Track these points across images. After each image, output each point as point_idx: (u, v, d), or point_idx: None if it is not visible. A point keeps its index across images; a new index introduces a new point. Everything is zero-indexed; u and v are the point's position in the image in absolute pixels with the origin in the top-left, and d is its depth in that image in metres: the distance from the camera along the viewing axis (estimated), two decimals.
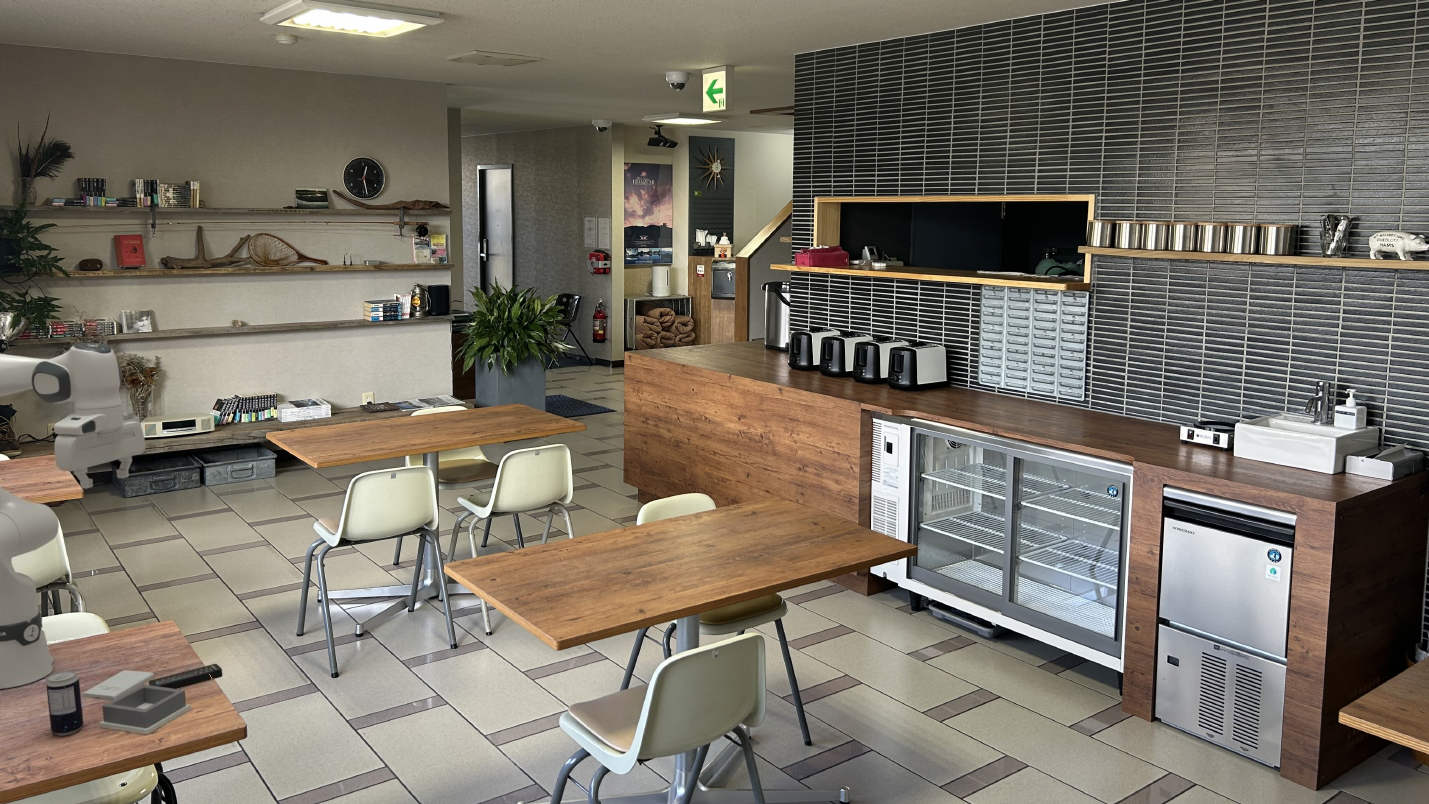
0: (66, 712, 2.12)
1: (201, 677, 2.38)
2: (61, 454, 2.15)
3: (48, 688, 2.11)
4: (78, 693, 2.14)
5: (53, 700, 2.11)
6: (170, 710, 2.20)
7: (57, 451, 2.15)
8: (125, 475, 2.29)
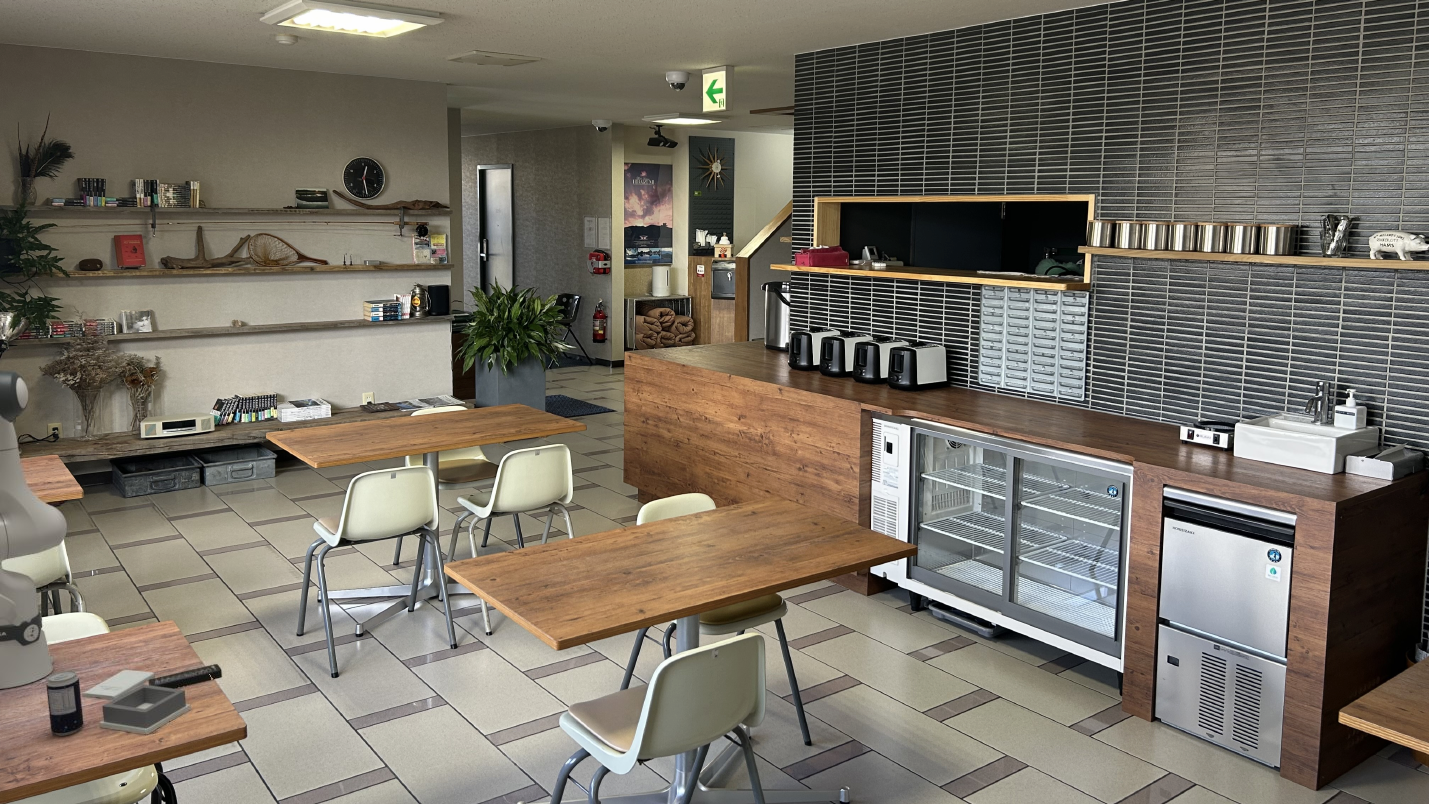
0: (66, 712, 2.12)
1: (200, 677, 2.38)
2: None
3: (48, 688, 2.11)
4: (78, 693, 2.14)
5: (53, 700, 2.11)
6: (170, 710, 2.20)
7: None
8: (13, 624, 2.01)
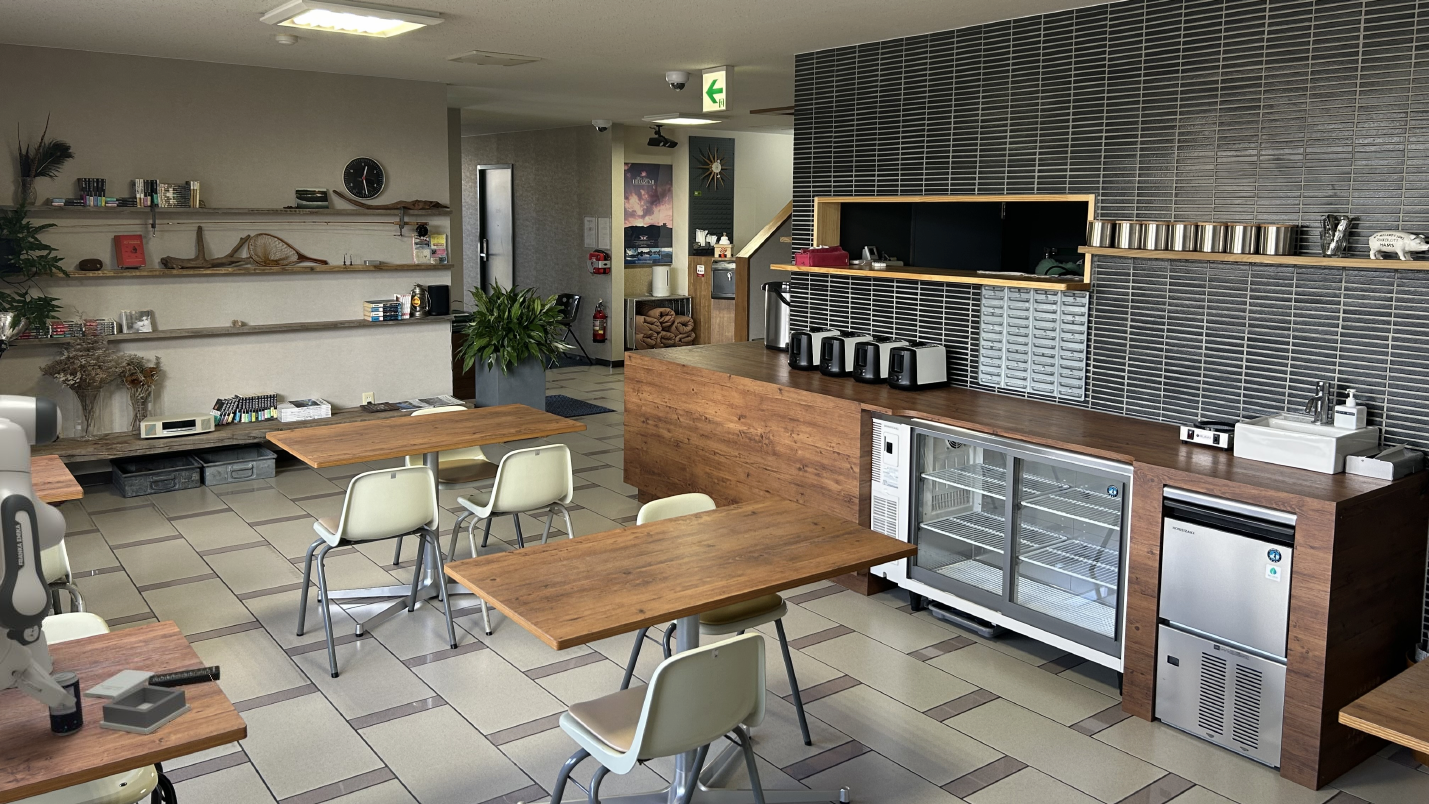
0: (66, 712, 2.12)
1: (197, 678, 2.38)
2: None
3: None
4: (78, 693, 2.14)
5: None
6: (170, 710, 2.20)
7: None
8: (67, 704, 2.12)
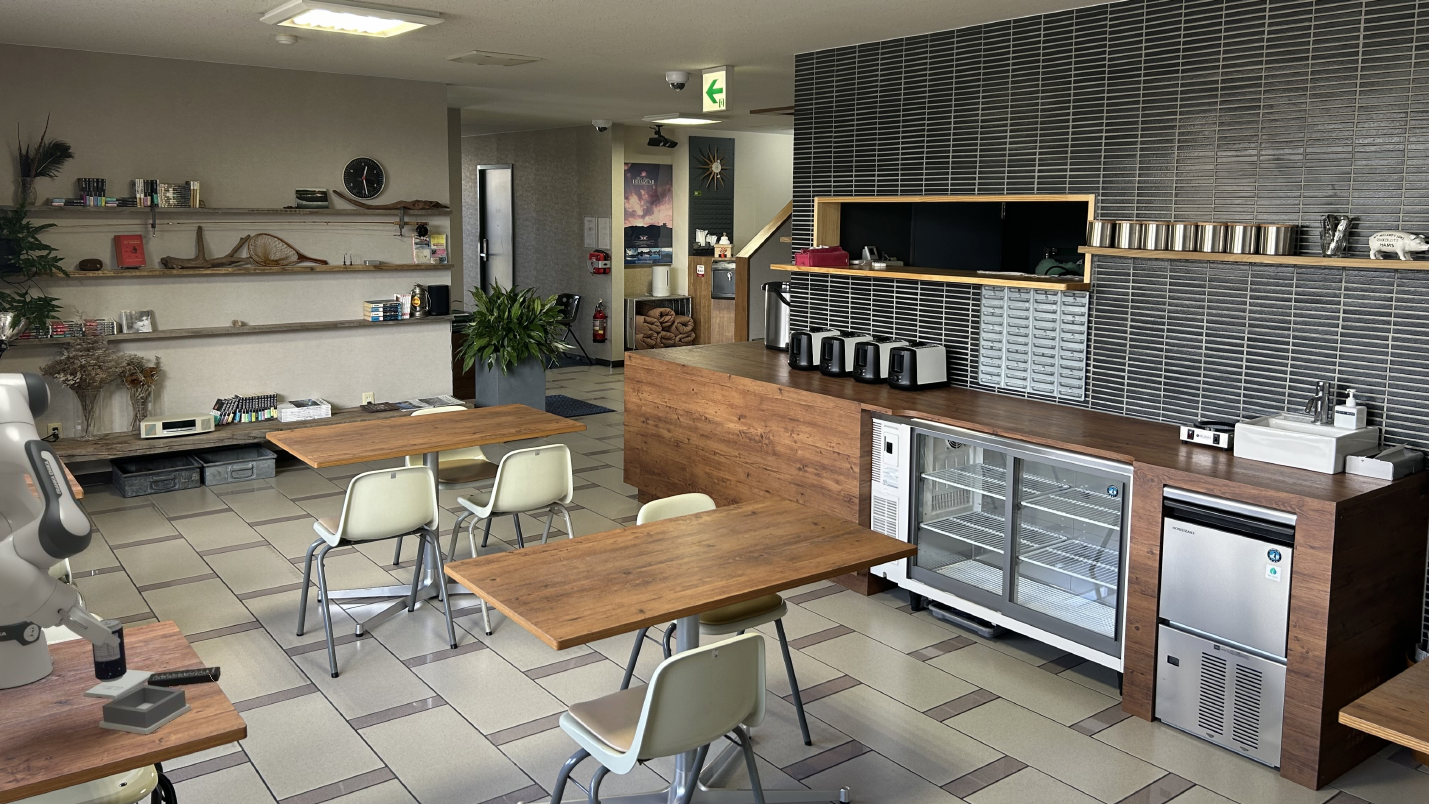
0: (111, 659, 2.14)
1: (195, 679, 2.38)
2: None
3: None
4: (122, 640, 2.16)
5: (98, 646, 2.13)
6: (170, 710, 2.20)
7: None
8: (111, 644, 2.13)
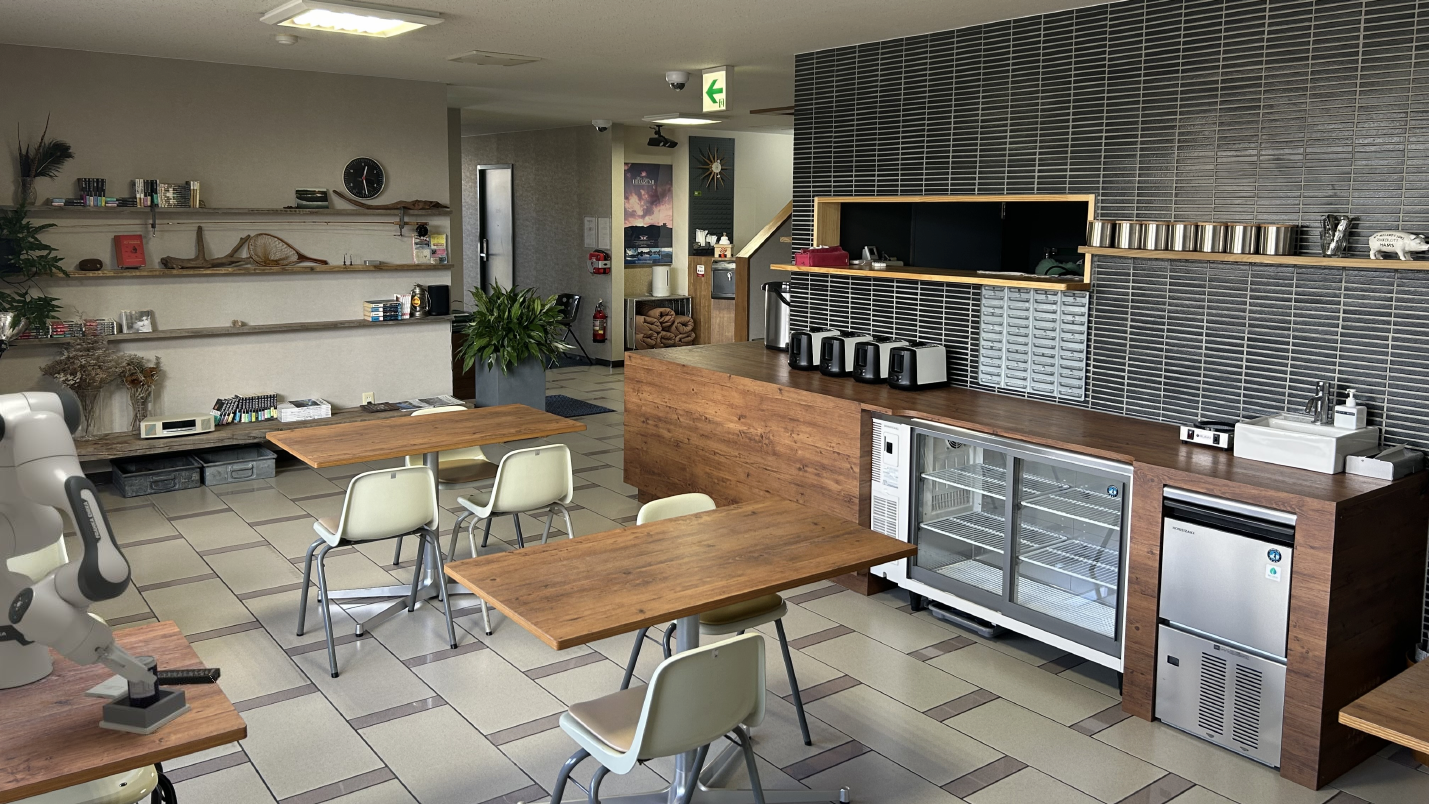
0: (146, 695, 2.18)
1: (193, 679, 2.37)
2: None
3: None
4: None
5: (134, 683, 2.17)
6: (170, 710, 2.20)
7: None
8: (148, 682, 2.16)
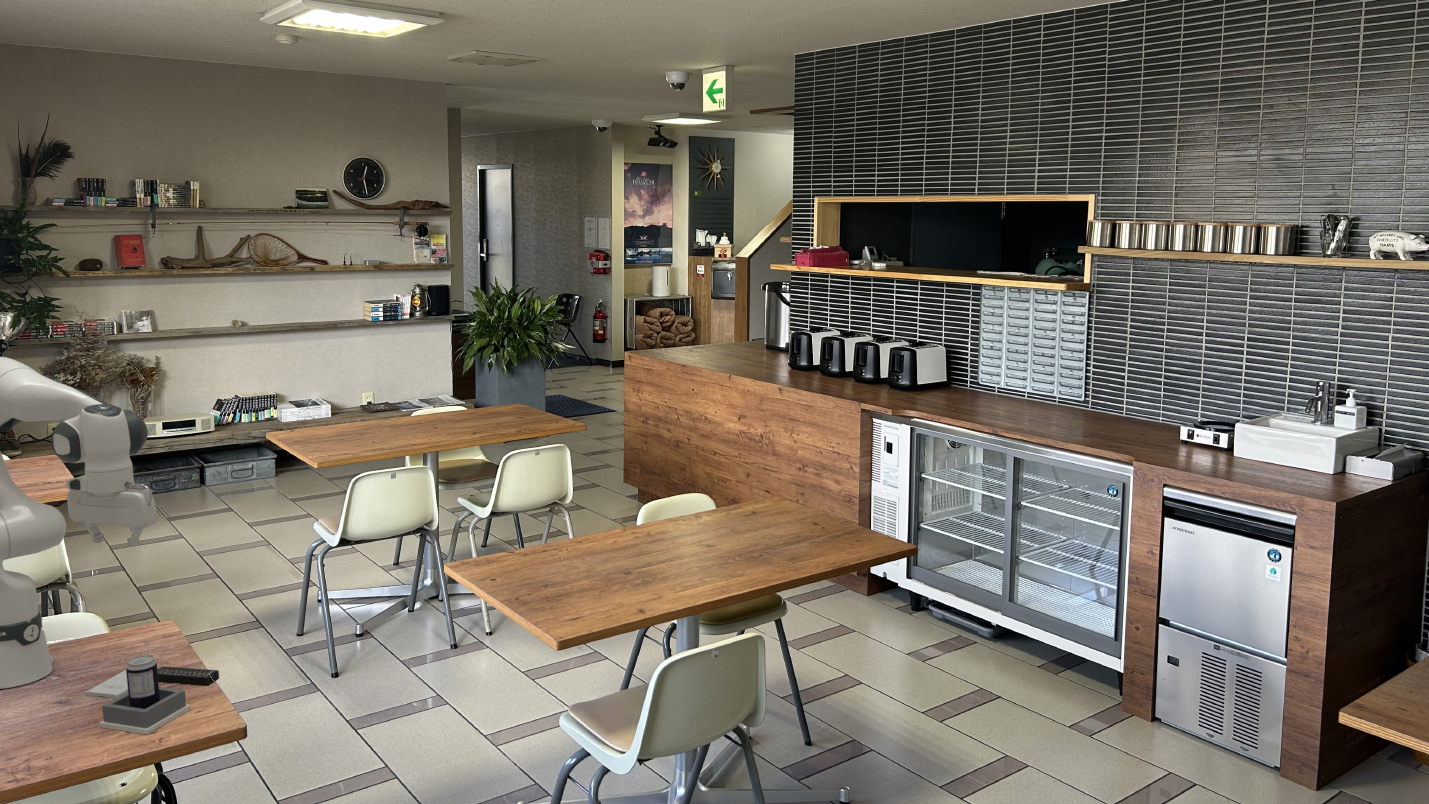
0: (146, 695, 2.18)
1: (189, 679, 2.37)
2: None
3: (128, 672, 2.17)
4: (156, 677, 2.20)
5: (133, 683, 2.17)
6: (170, 710, 2.20)
7: None
8: (129, 544, 2.23)
